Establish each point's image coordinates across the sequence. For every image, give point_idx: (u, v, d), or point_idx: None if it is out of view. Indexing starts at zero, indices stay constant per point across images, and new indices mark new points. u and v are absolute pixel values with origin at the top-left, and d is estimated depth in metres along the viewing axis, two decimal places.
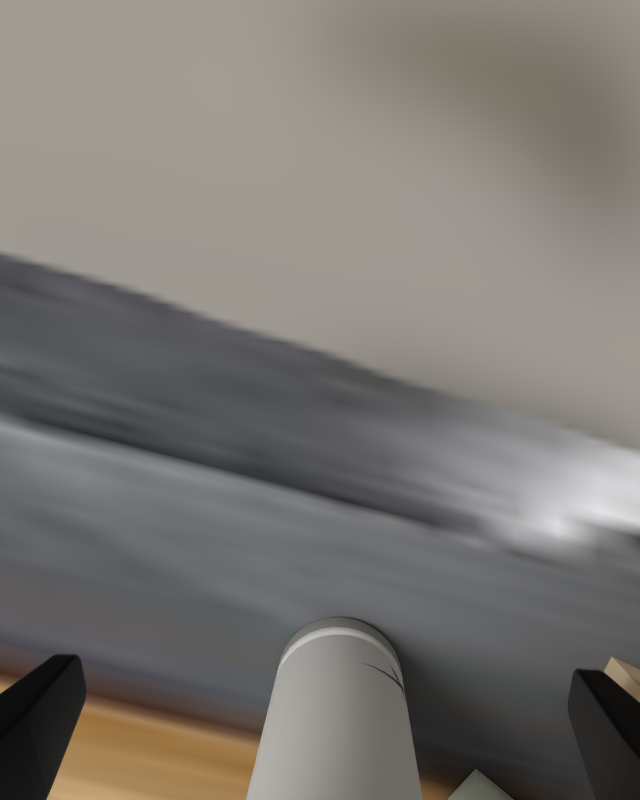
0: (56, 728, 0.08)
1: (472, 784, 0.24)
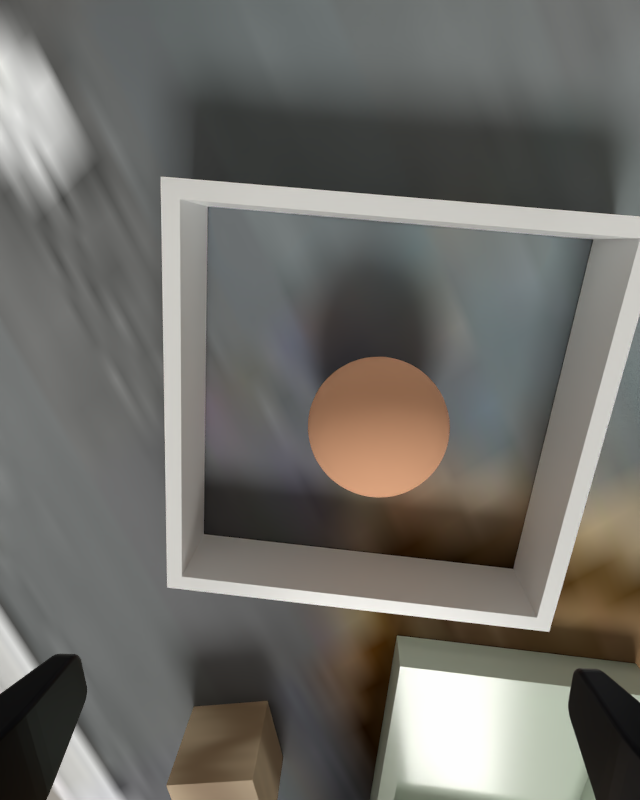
0: (56, 728, 0.08)
1: None
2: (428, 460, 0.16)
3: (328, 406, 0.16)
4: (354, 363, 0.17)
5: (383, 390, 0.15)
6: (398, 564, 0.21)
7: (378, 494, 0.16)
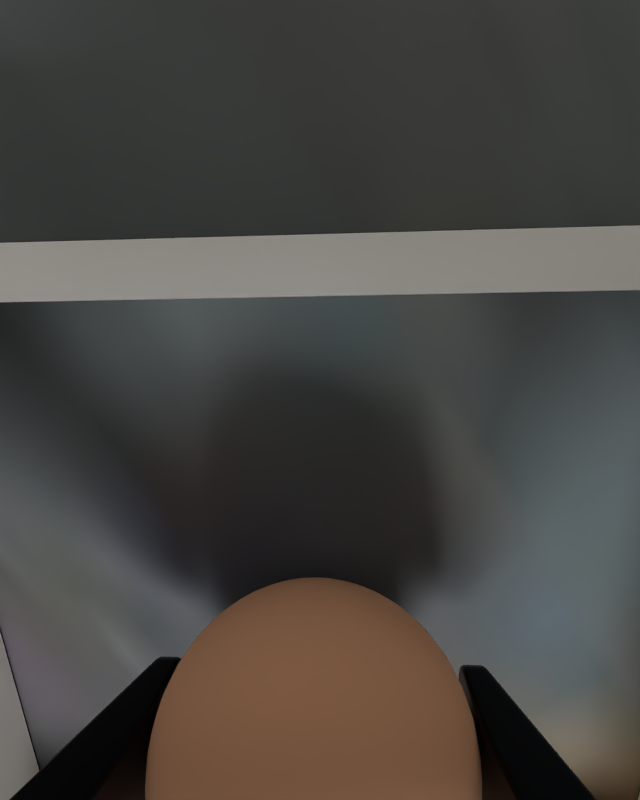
0: None
1: None
2: None
3: (162, 789, 0.06)
4: (234, 635, 0.07)
5: (289, 772, 0.05)
6: None
7: None
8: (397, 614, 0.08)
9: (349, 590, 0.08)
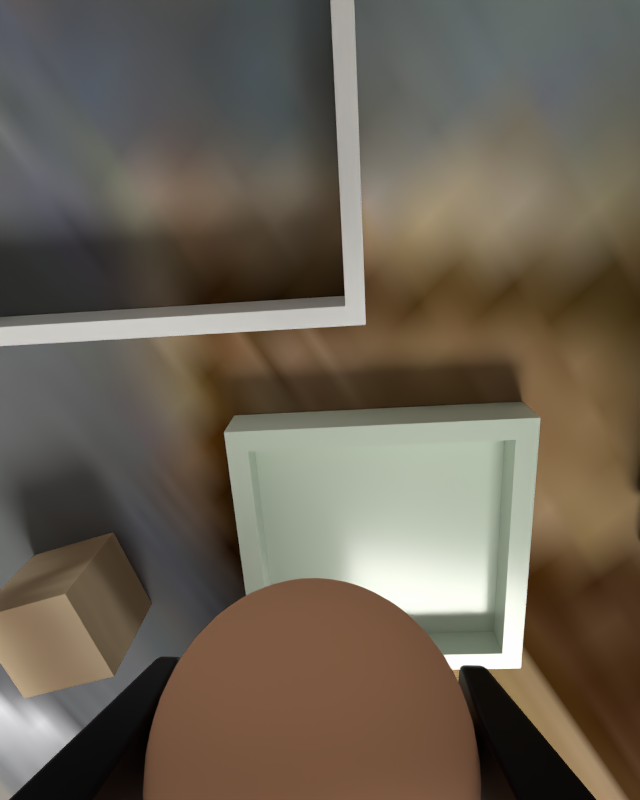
0: None
1: None
2: None
3: (159, 791, 0.06)
4: (232, 636, 0.07)
5: (287, 773, 0.05)
6: (200, 306, 0.17)
7: None
8: (396, 615, 0.07)
9: (348, 591, 0.08)
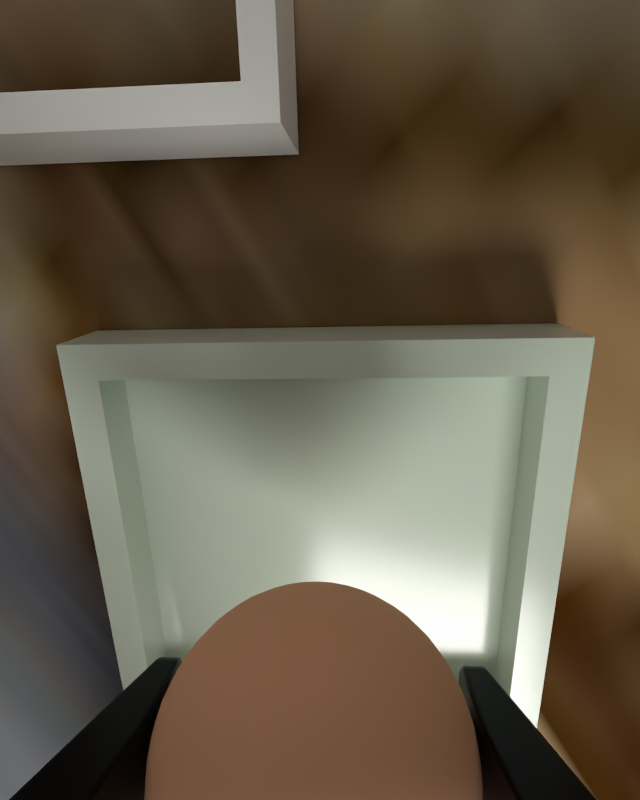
0: None
1: None
2: None
3: (160, 795, 0.06)
4: (233, 640, 0.07)
5: (288, 778, 0.05)
6: None
7: None
8: (397, 619, 0.07)
9: (349, 595, 0.08)
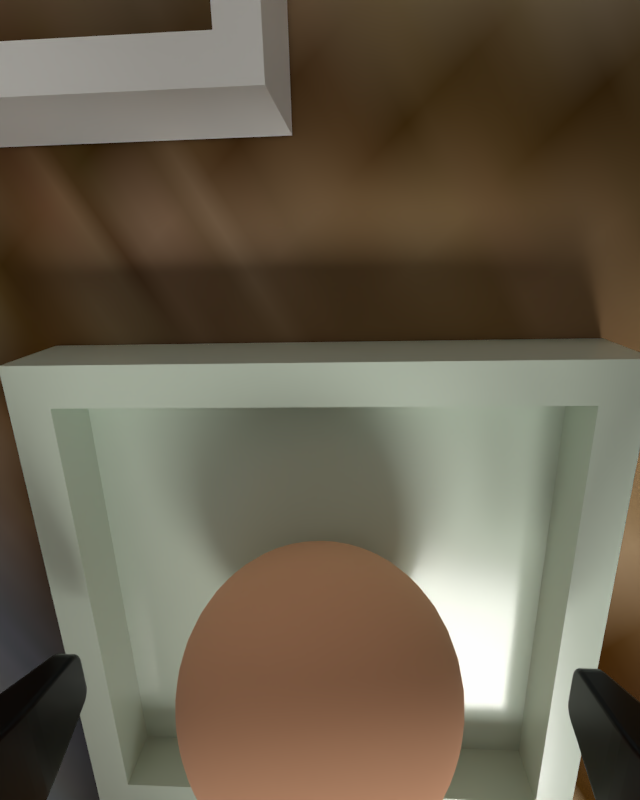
0: (56, 728, 0.08)
1: None
2: None
3: (192, 708, 0.07)
4: (251, 583, 0.08)
5: (302, 685, 0.07)
6: None
7: None
8: (391, 568, 0.09)
9: (350, 548, 0.09)
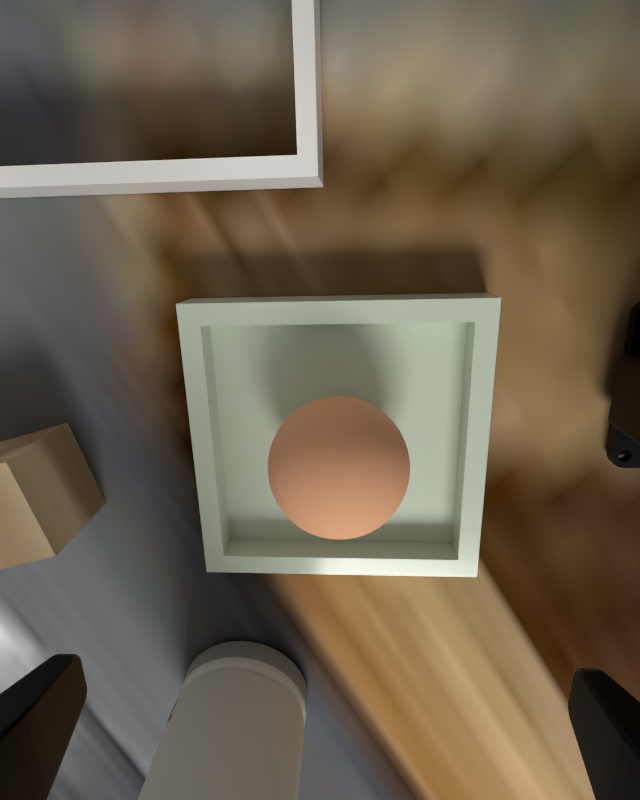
0: (56, 728, 0.08)
1: None
2: (388, 500, 0.15)
3: (282, 456, 0.16)
4: (306, 407, 0.17)
5: (333, 435, 0.15)
6: None
7: (343, 538, 0.16)
8: (374, 406, 0.17)
9: None
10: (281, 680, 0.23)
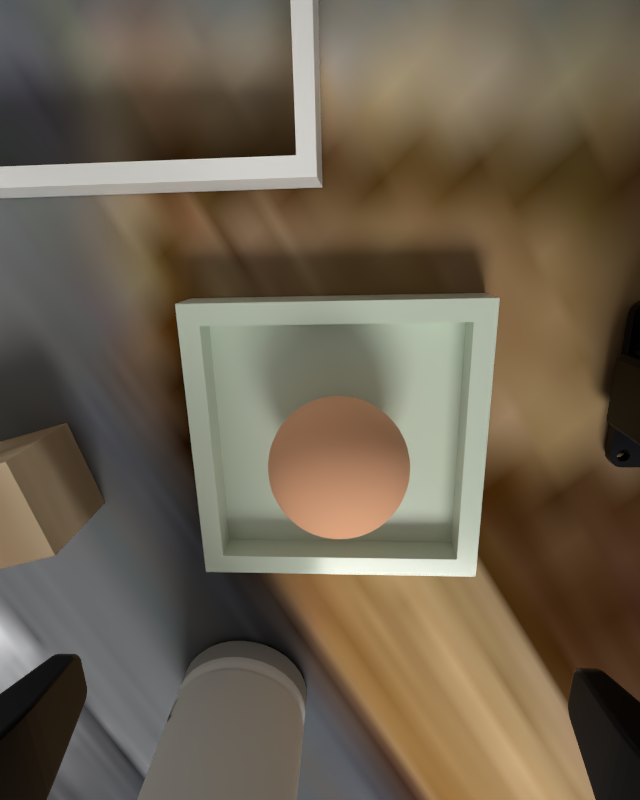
0: (56, 728, 0.08)
1: None
2: (389, 499, 0.16)
3: (283, 456, 0.16)
4: (306, 407, 0.17)
5: (335, 435, 0.15)
6: None
7: (344, 537, 0.16)
8: None
9: (353, 397, 0.17)
10: (280, 680, 0.23)
